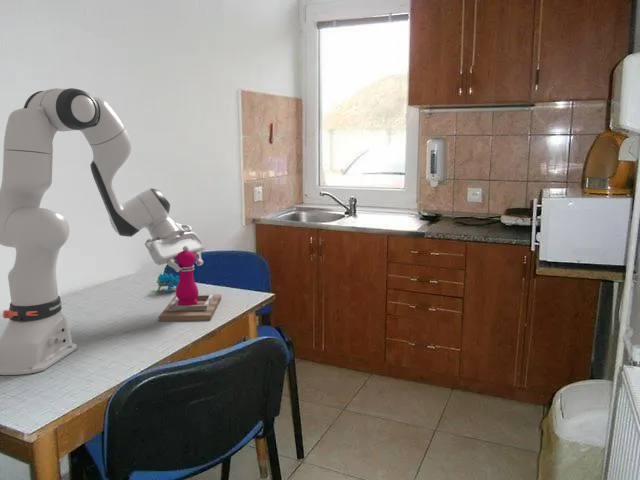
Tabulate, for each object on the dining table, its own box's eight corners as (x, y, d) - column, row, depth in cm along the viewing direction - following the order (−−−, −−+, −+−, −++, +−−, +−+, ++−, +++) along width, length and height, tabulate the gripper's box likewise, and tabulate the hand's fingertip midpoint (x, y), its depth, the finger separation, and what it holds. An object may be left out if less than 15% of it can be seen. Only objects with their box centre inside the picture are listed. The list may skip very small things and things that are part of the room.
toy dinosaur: (190, 284, 198) (176, 270, 191) (186, 298, 195) (171, 284, 188) (166, 285, 202) (151, 272, 195) (161, 299, 199) (146, 286, 192)
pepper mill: (191, 310, 168) (189, 248, 165) (171, 307, 171) (169, 247, 167) (203, 304, 175) (201, 245, 172) (184, 301, 177) (182, 243, 174)
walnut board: (210, 319, 164) (210, 310, 164) (159, 321, 164) (158, 311, 163) (221, 298, 186) (221, 290, 185) (175, 299, 185) (175, 291, 185)
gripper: (146, 234, 164) (171, 268, 161) (193, 224, 182) (216, 255, 178) (138, 247, 167) (162, 280, 164) (185, 236, 185) (207, 266, 182)
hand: (190, 267), depth 172 cm, fingers open, 8 cm apart
